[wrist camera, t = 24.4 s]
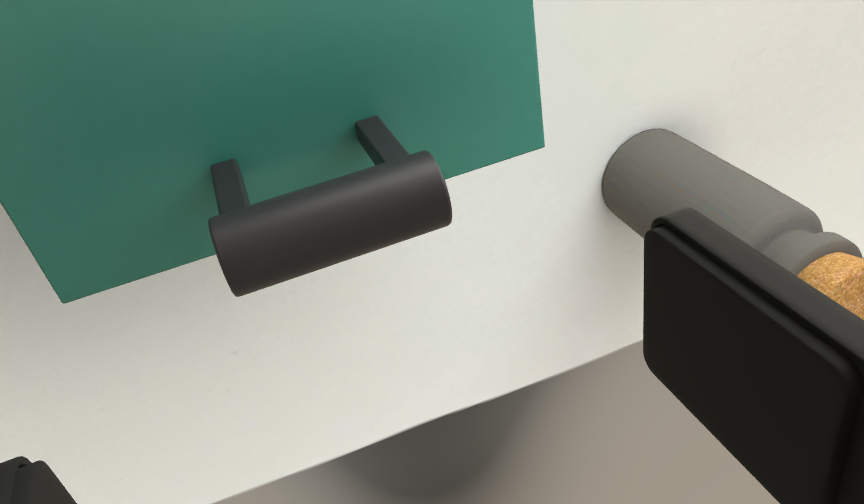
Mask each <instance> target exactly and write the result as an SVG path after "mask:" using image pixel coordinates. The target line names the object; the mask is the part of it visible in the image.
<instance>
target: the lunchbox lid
mask: <svg viewBox="0 0 864 504" xmlns="http://www.w3.org/2000/svg"><path fill="white" fill-rule="evenodd" d="M544 146H545V144H544V132H543V120H542V108H541V96H540V84H539V71H538V59H537V47H536V35H535V23H534V11H533V0H0V202H1V204H2V206H3V207H4V209H5V210H6V212H7V214H8V215H9V217H10V219H11V220H12V222H13V224H14V225H15V227H16V228H17V230H18V232H19V233H20V235H21V237H22V238H23V240H24V242H25V243H26V245H27V246H28V248H29V250H30V251H31V253H32V255H33V256H34V258H35V260H36V261H37V263H38V264H39V266H40V268H41V269H42V271H43V273H44V274H45V276H46V278H47V279H48V281H49V282H50V284H51V286H52V287H53V289H54V291H55V292H56V294H57V296H58V297H59V299H60V300H61V302H62V303H68V302H71V301H74V300H77V299H80V298H83V297H86V296H89V295H92V294H95V293H98V292H101V291H104V290H107V289H110V288H114V287H117V286H120V285H123V284H126V283H129V282H132V281H135V280H138V279H141V278H144V277H147V276H150V275H153V274H156V273H160V272H163V271H166V270H169V269H172V268H175V267H178V266H181V265H184V264H187V263H190V262H193V261H196V260H199V259H203V258H206V257H209V256H212V255H215V254H216V255H217V258H218V260H219V263H220V266H221V268H222V271H223V274H224V276H225V278H226V281H227V283H228V285H229V287H230V289H231V291H232V293H233V294H234V295H235V296H236V297H240V296H243V295H246V294H249V293H252V292H254V291H257V290H260V289H263V288H266V287H269V286H272V285H275V284H278V283H281V282H284V281H287V280H290V279H293V278H296V277H299V276H302V275H304V274H307V273H310V272H313V271H316V270H319V269H322V268H325V267H328V266H331V265H334V264H337V263H340V262H343V261H346V260H349V259H352V258H354V257H357V256H360V255H363V254H366V253H369V252H372V251H375V250H378V249H381V248H384V247H387V246H390V245H393V244H396V243H399V242H401V241H404V240H407V239H410V238H413V237H416V236H419V235H422V234H425V233H428V232H431V231H434V230H437V229H440V228H443V227H446V226H448V225H449V224H450V223H451V221H452V208H451V202H450V197H449V193H448V189H447V186H446V183H445V179H448V178H451V177H454V176H457V175H460V174H463V173H466V172H469V171H472V170H476V169H479V168H482V167H485V166H488V165H491V164H494V163H497V162H500V161H503V160H506V159H509V158H512V157H515V156H518V155H522V154H525V153H528V152H531V151H534V150H537V149H540V148H543V147H544Z"/></svg>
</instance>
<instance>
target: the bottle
mask: <svg viewBox="0 0 864 504" xmlns="http://www.w3.org/2000/svg"><path fill="white" fill-rule="evenodd" d="M603 197H604V200H605V203H606V204H607V206H608V208H609V209H610V210H611V211H612V212H613V213H614V214H615V215H616V216H617V217H618V218H620V219H621V220H622V221H623V222H625V223H626V224H627V225H628V226H629V227H631V228H632V229H633V230H634V231H636V232H637V233H638V234H639V235H640V236H642V237H643V238H644V237H645V234H646V232H647V231H649V230H650V229H651V224H652V222H653V220H655V219H656V218H658V217H661V216H663V215H666V214H669V213H671V212H674V211H677V210H679V209H682V208H685V207H690V208H692V209H695V210H696V211H698V212H700V213H701V214H703V215H704V216H706V217H707V218H709V219H710V220H712V221H713V222H715V223H716V224H718V225H719V226H721V227H722V228H724V229H725V230H727V231H729V232H730V233H732V234H733V235H735V236H736V237H738V238H739V239H741V240H742V241H744V242H745V243H747V244H748V245H750V246H751V247H753V248H754V249H756V250H758V251H759V252H761V253H762V254H764V255H765V256H767V257H768V258H770V259H771V260H773V261H774V262H776V263H777V264H779V265H780V266H782V267H783V268H785V269H786V270H788V271H790V272H791V273H793V274H794V275H796V276H797V277H799V278H800V279H802V280H803V281H805V282H806V283H808V284H809V285H811V286H812V287H814V288H815V289H817V290H819V291H820V292H822V293H823V294H825V295H826V296H828V297H829V298H831V299H832V300H834V301H835V302H837V303H838V304H840V305H841V306H843V307H844V308H846V309H848V310H849V311H851V312H852V313H854V314H855V315H857V316H858V317H860V318H861V319H863V320H864V259H862V255H861V252H860V250H859V248H858V247H857V246H856V245H855V244H854V243H852V242H851V241H849V240H848V239H846V238H844V237H842V236H841V235H838V234H836V233H832V232H823V229H822V225H821V222H820V220H819V218H818V216H817V215H816V214H815V213H814V212H813V211H812V210H810V209H809V208H807V207H806V206H804V205H802V204H800V203H799V202H797V201H795V200H794V199H792V198H790V197H788V196H787V195H785V194H783V193H781V192H780V191H778V190H776V189H774V188H773V187H771V186H769V185H768V184H766V183H764V182H762V181H760V180H758V179H757V178H755V177H753V176H751V175H749V174H748V173H746V172H744V171H742V170H740V169H739V168H737V167H735V166H733V165H731V164H730V163H728V162H726V161H724V160H722V159H721V158H719V157H717V156H715V155H713V154H712V153H710V152H708V151H706V150H704V149H703V148H701V147H699V146H697V145H695V144H694V143H692V142H690V141H688V140H686V139H684V138H682V137H681V136H679V135H677V134H675V133H673V132H670V131H667V130H663V129H652V130H648V131H644V132H642V133H640V134H637V135H635V136H634V137H632V138H631V139H629V140H628V141H627V142H626V143H624V144H623V145H622V146H621V147H620V148H619V149H618V151H617V152H616V153H615V155H614V156H613V157H612V159H611V160H610V162H609V164H608V166H607V169H606V171H605V174H604V179H603Z"/></svg>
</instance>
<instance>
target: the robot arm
mask: <svg viewBox="0 0 864 504" xmlns="http://www.w3.org/2000/svg"><path fill="white" fill-rule="evenodd" d="M643 353H644V358H645V361H646V363H647V365H648V367H649V369H650V370H651V371H652V372H653V374H654V375H655V376H656V377H657V378H658V379H659V380H660V381H661V382H662V383H663V384H664V385H665V386H666V387H667V388H668V389H669V390H670V391H671V392H672V393H673V394H674V395H675V396H676V397H677V398H678V399H679V400H680V402H681V403H683V405H684V406H685V407H686V408H687V409H688V410H689V411H690V412H691V413H692V414H693V415H694V416H695V417H696V418H697V419H698V420H699V421H700V422H701V423H702V424H703V425H704V426H705V427H706V428H707V429H708V430H709V431H710V432H711V433H712V434H713V435H714V436H715V437H716V438H717V439H718V440H719V441H720V442H721V443H722V445H723V446H724V447H726V449H727V450H728V451H729V452H730V453H731V454H732V455H733V456H734V457H735V458H736V459H737V460H738V461H739V462H740V463H741V464H742V465H743V466H744V467H745V468H746V469H747V470H748V471H749V472H750V473H751V474H752V475H753V476H754V477H755V478H756V479H757V480H758V481H759V482H760V483H761V484H762V485H763V486H764V488H765V489H766V490H767V491H768V492H769V493H770V494H771V495H772V496H773V497H774V498H775V499H776V500H777V501H778V502H779V503H780V504H864V320H863V319H861V318H860V317H858V316H857V315H855V314H854V313H852V312H851V311H849V310H848V309H846V308H844V307H843V306H841V305H840V304H838V303H837V302H835V301H834V300H832V299H831V298H829V297H828V296H826V295H825V294H823V293H822V292H820V291H819V290H817V289H815V288H814V287H812V286H811V285H809V284H808V283H806V282H805V281H803V280H802V279H800V278H799V277H797V276H796V275H794V274H793V273H791V272H790V271H788V270H786V269H785V268H783V267H782V266H780V265H779V264H777V263H776V262H774V261H773V260H771V259H770V258H768V257H767V256H765V255H764V254H762V253H761V252H759V251H758V250H756V249H754V248H753V247H751V246H750V245H748V244H747V243H745V242H744V241H742V240H741V239H739V238H738V237H736V236H735V235H733V234H732V233H730V232H729V231H727V230H725V229H724V228H722V227H721V226H719V225H718V224H716V223H715V222H713V221H712V220H710V219H709V218H707V217H706V216H704V215H703V214H701V213H700V212H698V211H696V210H695V209H692V208H690V207H685V208H682V209H679V210H677V211H674V212H671V213H669V214H666V215H663V216H661V217H658V218H656V219H655V220H653V222H652V224H651V229H650V230H649V231H647V232H646V234H645V237H644V322H643ZM0 504H77V503H76V502H75V501H74V499H73V498H72V497H71V495H70V494H69V493H68V491H67V490H66V489H65V487H64V486H63V485H62V483H61V482H60V481H59V479H58V478H57V477H56V475H55V474H54V473H53V471H52V470H51V469H50V467H49V466H48V465H47V464H46V463H45V462H43V461H36V462H34V463H31V462H30V461H29V460H28V459H27V458H25V457H23V456H21V457H16V458H13V459H11V460H8V461H5V462H3V463H0Z"/></svg>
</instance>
